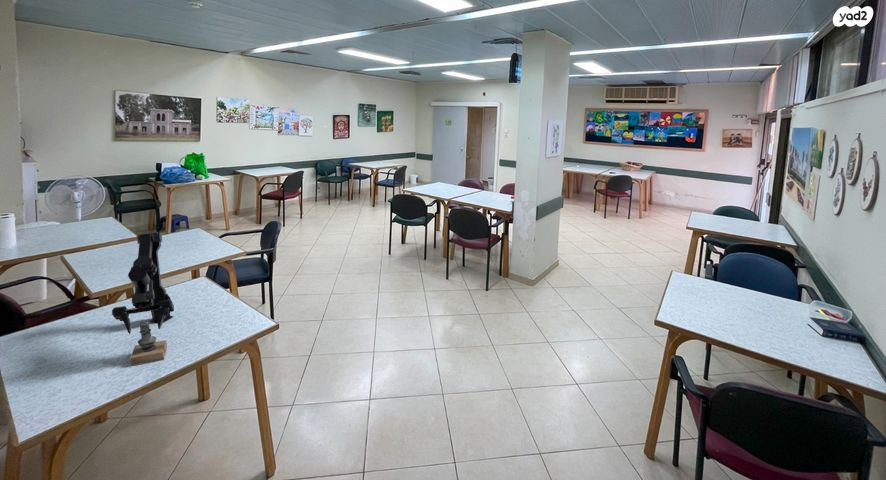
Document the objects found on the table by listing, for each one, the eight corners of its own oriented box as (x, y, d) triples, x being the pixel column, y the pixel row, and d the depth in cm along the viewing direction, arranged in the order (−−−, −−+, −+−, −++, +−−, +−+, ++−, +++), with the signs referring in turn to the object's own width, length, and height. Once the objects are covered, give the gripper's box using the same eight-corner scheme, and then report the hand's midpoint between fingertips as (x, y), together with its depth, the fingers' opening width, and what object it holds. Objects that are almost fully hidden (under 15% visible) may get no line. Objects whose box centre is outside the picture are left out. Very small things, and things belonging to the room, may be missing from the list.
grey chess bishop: (143, 354, 162) (137, 324, 159) (136, 349, 165) (130, 319, 162) (160, 348, 166) (155, 318, 163) (153, 343, 170) (148, 314, 166)
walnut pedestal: (136, 352, 169) (135, 345, 168) (166, 347, 173) (165, 340, 172) (131, 365, 160) (130, 358, 159) (163, 359, 164) (162, 352, 163)
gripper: (107, 287, 159) (106, 328, 152) (168, 279, 166) (169, 318, 160) (116, 299, 167) (115, 338, 161) (173, 292, 175) (175, 329, 169)
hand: (144, 330), depth 162 cm, fingers open, 9 cm apart
